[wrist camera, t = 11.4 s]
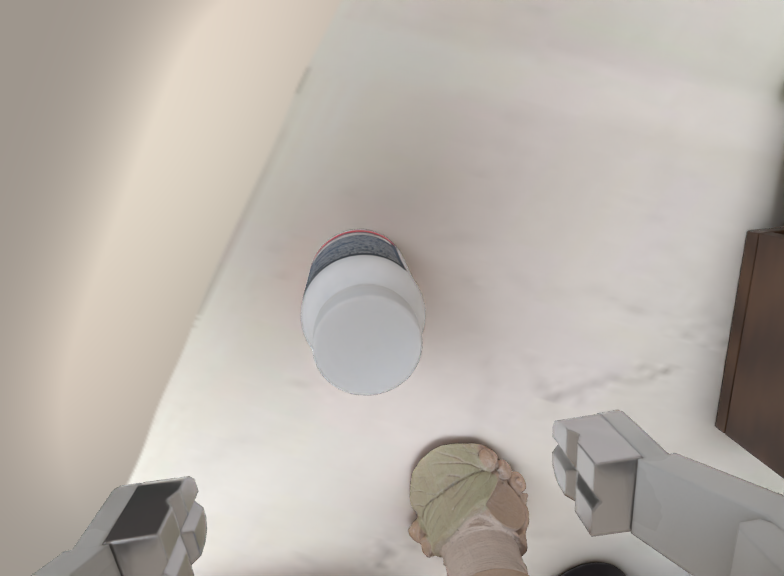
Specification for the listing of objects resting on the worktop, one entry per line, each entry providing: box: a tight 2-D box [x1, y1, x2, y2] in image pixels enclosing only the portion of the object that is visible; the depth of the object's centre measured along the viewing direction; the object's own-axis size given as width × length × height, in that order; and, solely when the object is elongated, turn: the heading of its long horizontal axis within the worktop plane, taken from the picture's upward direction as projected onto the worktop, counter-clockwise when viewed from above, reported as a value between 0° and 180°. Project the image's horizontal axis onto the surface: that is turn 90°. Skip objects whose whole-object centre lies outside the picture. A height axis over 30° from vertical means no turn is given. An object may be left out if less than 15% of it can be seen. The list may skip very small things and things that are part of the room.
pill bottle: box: [301, 229, 426, 395], centre depth 20 cm, size 5×5×9 cm
